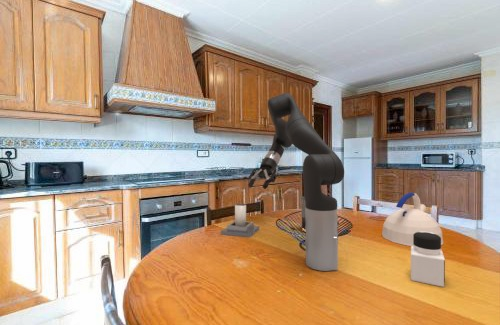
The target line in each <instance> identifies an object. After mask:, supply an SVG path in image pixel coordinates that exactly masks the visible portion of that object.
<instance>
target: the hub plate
mask: <svg viewBox="0 0 500 325" xmlns="http://www.w3.org/2000/svg"><path fill="white" fill-rule="evenodd" d="M254 224H255V222H254V221H247V220H246V226H245V227H244V226H235V220H234V221H232V222H231V223H228V224H227V225H226V227H225V228H223V229H222V230H221V231H220V235H225V236H235V237H242V238H243V237H244V238H251V237H252V236H254V235H255V234H256V233H257V232H258V231H260V225H254Z"/></svg>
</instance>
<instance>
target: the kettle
mask: <svg viewBox="0 0 500 325" xmlns="http://www.w3.org/2000/svg"><path fill="white" fill-rule="evenodd" d="M410 198H412V200H413V208H411V207H410V208H409V207H406V208H403V207H404V206H405V205H404V204H405V203H406V202H407V201H408V199H410ZM395 207H397V208H401V209H397V210H395V211H393V212H392V213H390V214H389V215H388V216H387V217H386V218H385V220H384V222H383V225H382V234H381V235H382V237H383V238H384V239H386V240H388V241H389V242H391V243H392V242H393V243H395V244H399V245H402V246H410V247H411V246H413V234H414V233H416V232H430V233H434V234H436V235H438V236H440V237H441V246H442V245H443V244H444V240H443V231H442V229H441V227H440V224H439V223H438V222H437V220H436V219H435V218H434V217H432V216H431V215H429V214H428V213H427V212H426V210H427V206H426V205H425V204H423V203H421V199H420V197H419V195H418V194H417V193H414V192H408V193H406V194H404V195H403V196H402V197H401V198H400V199H399V201H398V202H397V204H396V206H395Z"/></svg>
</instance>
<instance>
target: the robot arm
mask: <svg viewBox="0 0 500 325" xmlns="http://www.w3.org/2000/svg"><path fill="white" fill-rule="evenodd" d="M267 109H268V112H269V117H270V118H271V121H272V122H271V123H273V126H274V130H275V133H274V135H273V139H272V144H271V146H270V148H269V150H268V152H267V153H266V154H265V156H264V158H263V160H262V161H261V163H260V164H259V166H260V167H259V169H256V168H254V169H253V170H252V171H251V172H250V174H249V176H248V179H249V181H248V187H249V188H253V187H254V184H255V182H256V181H260V180H261V179H262V180H263V179H264V182H263V185H262V188H263V189H264V190H266V189H268V187H269V185H270V184H271V183H275V181H276V179H277V177H278V174H279V172H278V171H277V167H278V166H279V163H280V162H281V159H282V156H283V154H284V152H285V148H286V149H288V148H290V147H291V146H294V147H295V148H297V149H298V151H301V152H303V153H305V154H306V156H305V158H304V159H303V163H302V179H303V180H302V182H303V196H304V198H305V218H306V233H305V264H306V266H307V267H309V268H310V269H313V270H315V271H320V272H321V271H322V272H330V271H338V268H339V264H338V263H339V248H338V247H339V246H338V245H339V244H338V243H339V241H338V240H339V238H338V237H339V236H338V234H339V232H338V225H337V222H338V200H337V199H336V198H335V197H333V196H331V195H330V196H329V195H327V194H325V193H324V192H323V191H322V186H333V185H336V184H340V183H342V181H343V179H344V177H345V167H344V165H343V162H342V159H341V158H340V157H339V156H338V155H337V154H336V152H334V150H333V149H331V148H330V146H329V145H328V144H327V143H326V142H325V141H324V140H323V139H322V137H321V136H320V135H319V133H317V131H316V129H315V128H314V126H313V125H312V124H311V122H310V121H309V120H308V118H307V117H306V116H305V114H304V113H303V112H302V110H301V109H300V107H299V105H298V104H297V102H296V101H295V99H294V96H292V95H291V93H288V92H284V93H281V94H278V95H275V96H273V97H271V98H268V100H267ZM287 116H289V117H288V119H287V120H286V119H285V117H287Z"/></svg>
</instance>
